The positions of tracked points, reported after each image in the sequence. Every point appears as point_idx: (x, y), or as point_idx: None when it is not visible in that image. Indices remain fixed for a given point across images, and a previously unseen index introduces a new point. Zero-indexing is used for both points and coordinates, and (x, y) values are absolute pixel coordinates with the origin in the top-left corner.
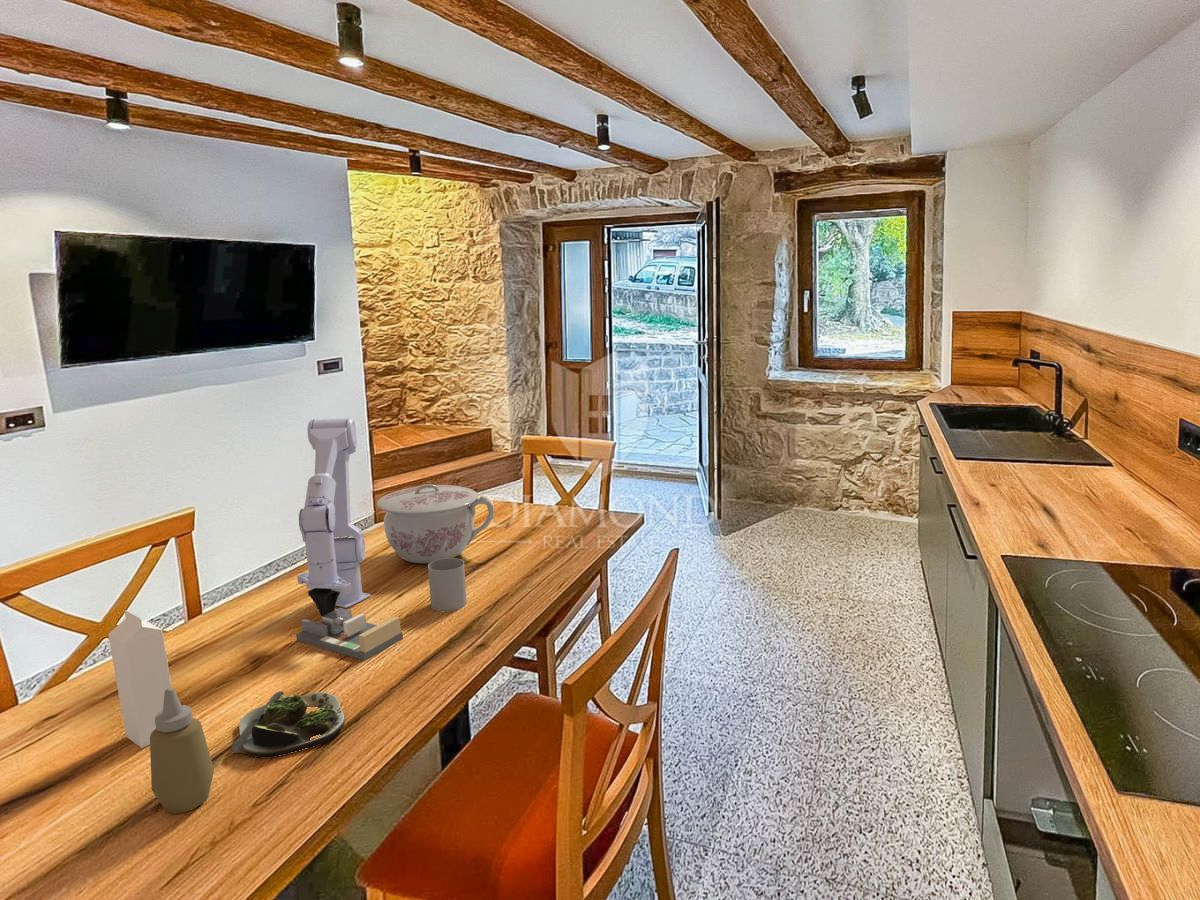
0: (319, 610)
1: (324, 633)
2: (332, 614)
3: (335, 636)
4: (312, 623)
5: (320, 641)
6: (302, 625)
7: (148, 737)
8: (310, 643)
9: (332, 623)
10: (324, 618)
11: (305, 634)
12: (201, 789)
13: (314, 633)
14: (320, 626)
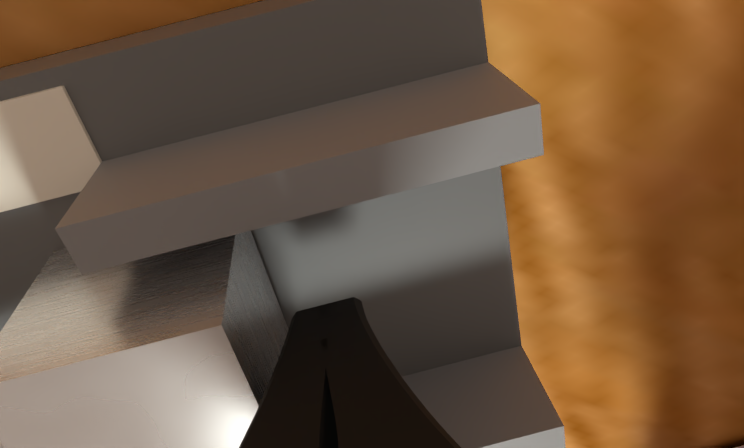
0: (368, 381)
1: (97, 181)
2: (170, 439)
3: (48, 245)
4: (302, 166)
5: (25, 73)
6: (501, 84)
7: None
8: (224, 12)
9: (8, 338)
10: (158, 327)
11: (365, 37)
12: None
13: (281, 118)
14: (131, 203)
